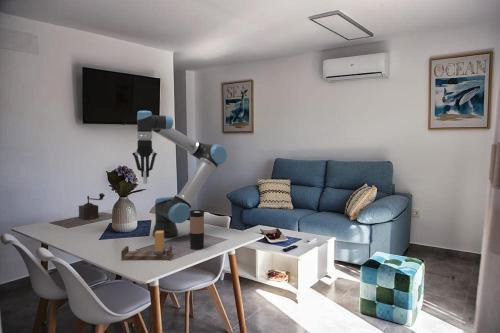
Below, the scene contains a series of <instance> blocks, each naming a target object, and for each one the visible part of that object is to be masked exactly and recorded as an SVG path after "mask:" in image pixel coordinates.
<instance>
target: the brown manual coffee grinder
mask: <svg viewBox="0 0 500 333" xmlns="http://www.w3.org/2000/svg"><path fill="white" fill-rule="evenodd" d="M98 196H99V197H98V198H91V197H90V196H89V195H87V198H86V199H87V202H86V203H84V204H83V205H82V204H81V205H78V219H79V220H83V221H89V220H94V219H95V220H96V219H99V218H100V217H99V205H98V204H93V202H90V200H92V201H102V200H104V197H105V194H104V193H102V192H101V193H99V195H98Z"/></svg>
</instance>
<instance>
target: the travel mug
mask: <svg viewBox="0 0 500 333" xmlns="http://www.w3.org/2000/svg"><path fill="white" fill-rule="evenodd" d="M204 243H205V211H204V210H201V209H192V210H190V216H189V246H190V247H189V248H190V249H191V250H196V251H197V250H202V249H204V246H205V244H204Z"/></svg>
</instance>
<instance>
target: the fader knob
mask: <svg viewBox="0 0 500 333" xmlns="http://www.w3.org/2000/svg"><path fill="white" fill-rule="evenodd" d="M153 251H154V255H163V254H164V252H165V251H166V248H165V238H164V231H156V232H155V237H154V250H153Z"/></svg>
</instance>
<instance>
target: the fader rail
mask: <svg viewBox="0 0 500 333" xmlns="http://www.w3.org/2000/svg"><path fill="white" fill-rule="evenodd" d="M154 251H155V250H129V245H126V246H124V247H123V249H122V250H121V251H120V252H121V254H120V255H121V261H170V260H171V258H172V256H173V245H169V247H168V248H167V250H165V252H164V254H163V255H154Z"/></svg>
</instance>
